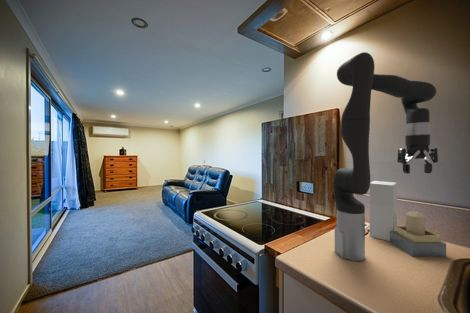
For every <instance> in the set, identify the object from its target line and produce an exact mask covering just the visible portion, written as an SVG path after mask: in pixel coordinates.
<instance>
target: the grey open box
mask: <svg viewBox="0 0 470 313" xmlns="http://www.w3.org/2000/svg"><path fill="white" fill-rule="evenodd" d="M389 243H390V244H391V245H393V246H395V247H396V248H397V249H399V250H401V251H403V252H405V253H406V254H408V255H409V256H411V257H413V258H414V257H416V258H425V257H426V258H428V257H429V258H431V257H432V258H433V257H434V258H438V257H439V258H442V257H443V258H445V257H447V243H446V242H444V241H442V236H441V235H440V234H438V233H436V232H435V233H434V232H432V231H430V230H427V229H426V228H425V235H413V234H411V233H409V232H407V231H406V225H397V226H394V231H390V241H389Z"/></svg>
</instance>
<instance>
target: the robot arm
mask: <svg viewBox="0 0 470 313" xmlns="http://www.w3.org/2000/svg"><path fill="white" fill-rule="evenodd" d="M336 78H337V80H338V82H340V83H341V84H342V85H344V86H348V87H352V89H351V93H350V97H349V99H348V101H347V103H346V106H345V108H344V109H343V112H342V115H341V118H340V119H341V120H340V135H341V136H340V137H341V138H342V140H343V142H344V144H345V146H346V147H347V148H348V151H349V152H350V154H351V156H352V164H353V165H352V168H347V167H345V168H344V167H342V168H338V169H337V170H336V171H335V172H334V176H333V193H334V194H333V196H334V203H335V205H336V226H335V227H334V251H335V253H337V254H338V255H339V257H340V258H341V259H344V260H345V259H346V260H348V261H353V262H361V261H364V260H365V257H366V237H365V236H366V222H365V221H366V220H365V219H366V216H365V215H366V211H365V210H366V208H365V207H366V206H365V204H364V203H363V202H361V201H360V200H358V199H357V198H356V197H355V196H354V195H360V196H362V195H363V196H364V195H366V194H368V192H369V191H370V183H371V166H370V153H369V151H370V150H369V149H370V146H369V145H370V129H371V128H370V127H371V100H372V90H373V91H376V92H380V93H382V94H383V93H384V94H386V95H388V96H392V97H395V98H398V99H399V98H400V102H401V105H402V108H403V110H404V114H405V115H406V116H405V130H404V132H405V135H404V136H405V137H404V138H405V139H404V140H405V143H404V144H405V147H406V148H398V150H397V163H399V164H402V171H403V173H404V174H407V175H408V174H410V173H411V165H410V164H411V163H412V161H414V160H418V159H420V160H422V161H423V163H424V167H423V168H424V171H423V172H424V173H425V174H432V171H433V164H435V163H438V162H439V159H438V158H439V157H438V156H439V155H438V153H439V152H438V148H437V147H429V146H430V145H431V124H430V115H431V114H430V109H428V108H425V107H420V108H419V107H418V104H420V103H425V102H429V101H431V100H432V99H433V98H435V97H436V94H437V88H436V86H435V85H433V83H430V82H427V81H421V80H409V79H407V78H404V77H401V76H400V75H396V74H381V73H380V74H378V73H377V74H376V73H375V60H374V58H373V55H371V54H370V53H368V52H365V51H363V52H360V53H358V54H356V55H354V56H352V57H351V58H349V59H348V60H346V61H345V62H343V63H342V64H341V65H340V66H339V67H338V68H337V71H336ZM353 194H354V195H353Z"/></svg>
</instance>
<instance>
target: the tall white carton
mask: <svg viewBox="0 0 470 313" xmlns="http://www.w3.org/2000/svg"><path fill="white" fill-rule="evenodd" d="M368 208H369V212H368V213H369V237H371V238H374V239H375V238H376V239H378V240H384V241H387V242H390V231H394V226H398V182H392V181H382V180H381V181H380V180H373V181H370V187H369V207H368Z"/></svg>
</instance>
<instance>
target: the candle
mask: <svg viewBox="0 0 470 313" xmlns="http://www.w3.org/2000/svg"><path fill="white" fill-rule="evenodd" d="M405 226H406V231H407V232H409V233H411V234H413V235H425V229H426V216H425V215H424V214H422V213H421V212H419V211H416V210H410V211H408V212H407V213H405Z"/></svg>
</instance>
